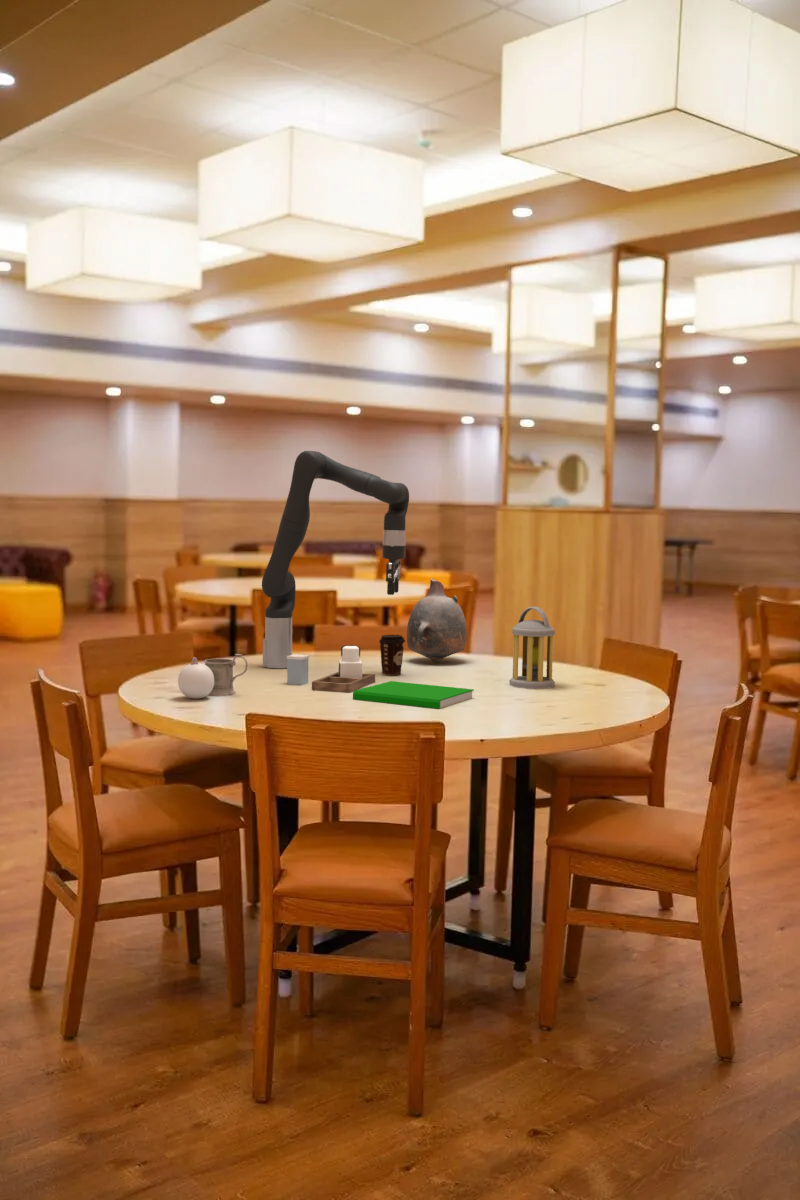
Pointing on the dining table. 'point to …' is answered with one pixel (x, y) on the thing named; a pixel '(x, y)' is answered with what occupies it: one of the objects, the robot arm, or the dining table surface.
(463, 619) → the jug
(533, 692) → the dining table surface
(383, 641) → the coffee cup
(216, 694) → the mug
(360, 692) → the book
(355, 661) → the medicine bottle
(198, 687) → the ornament
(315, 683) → the brown flat rectangular frame
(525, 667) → the lantern
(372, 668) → the dining table surface
